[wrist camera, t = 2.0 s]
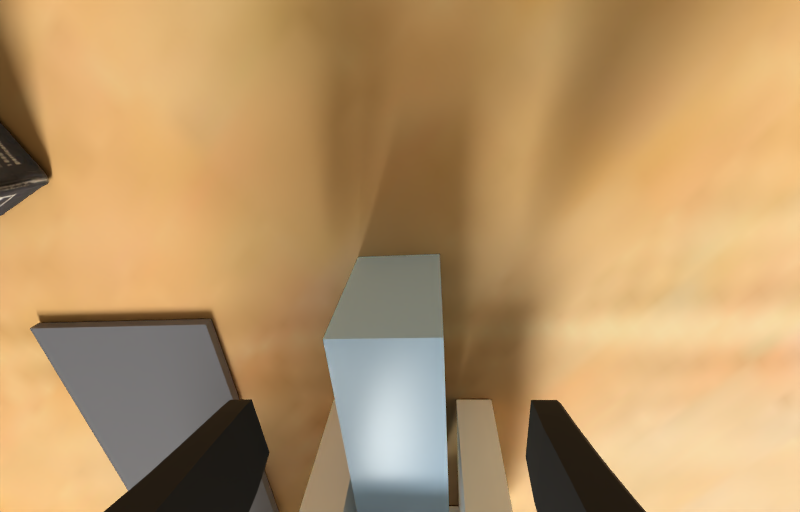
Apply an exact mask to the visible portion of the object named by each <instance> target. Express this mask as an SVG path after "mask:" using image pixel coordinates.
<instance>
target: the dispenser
mask: <svg viewBox="0 0 800 512" xmlns="http://www.w3.org/2000/svg"><path fill="white" fill-rule="evenodd" d="M456 404H457V449H458V494H459V506H449V512H513V511H512V506H511V500H510V495H509V490H508V485H507V479H506V474H505V469H504V464H503V458H502V453H501V448H500V442H499V437H498V432H497V427H496V421H495V416H494V411H493V406H492V400H456ZM299 512H357V508H356V503H355V498H354V493H353V488H352V483H351V478H350V473H349V468H348V463H347V458H346V453H345V448H344V443H343V438H342V433H341V428H340V423H339V418H338V413H337V408H336V403H335V400H333V404H332V407H331V410H330V413H329V417H328V420H327V423H326V426H325V429H324V433H323V436H322V439H321V442H320V446H319V449H318V452H317V455H316V458H315V462H314V465H313V468H312V471H311V475H310V478H309V481H308V484H307V487H306V491H305V494H304V497H303V500H302V504H301V507H300V510H299Z"/></svg>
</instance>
